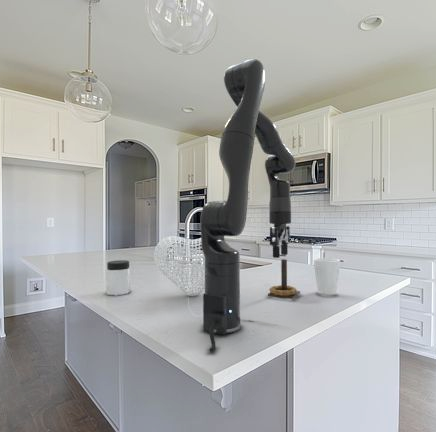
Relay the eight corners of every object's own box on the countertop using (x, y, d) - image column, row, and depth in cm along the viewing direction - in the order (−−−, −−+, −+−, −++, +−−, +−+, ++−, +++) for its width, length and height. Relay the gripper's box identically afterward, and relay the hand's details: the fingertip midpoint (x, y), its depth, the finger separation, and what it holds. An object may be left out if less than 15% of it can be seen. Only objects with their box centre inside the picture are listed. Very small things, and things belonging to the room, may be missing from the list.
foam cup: (345, 295, 112) (345, 260, 112) (329, 299, 107) (329, 262, 107) (324, 290, 120) (323, 257, 120) (308, 294, 115) (308, 259, 115)
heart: (228, 290, 122) (228, 234, 122) (232, 300, 106) (232, 236, 106) (157, 291, 120) (157, 234, 120) (150, 302, 104) (150, 237, 104)
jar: (126, 289, 124) (126, 259, 124) (133, 293, 118) (133, 261, 118) (103, 292, 119) (103, 261, 119) (109, 296, 112) (109, 264, 112)
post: (292, 301, 105) (292, 261, 105) (268, 297, 109) (267, 260, 110) (300, 295, 113) (299, 258, 113) (276, 292, 117) (276, 257, 117)
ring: (292, 297, 104) (292, 292, 104) (265, 294, 109) (265, 289, 109) (300, 291, 112) (300, 286, 112) (275, 288, 117) (275, 284, 117)
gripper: (276, 210, 116) (277, 253, 116) (262, 210, 104) (262, 257, 103) (296, 210, 112) (296, 254, 112) (283, 209, 100) (284, 259, 100)
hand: (280, 256), depth 108 cm, fingers open, 8 cm apart
